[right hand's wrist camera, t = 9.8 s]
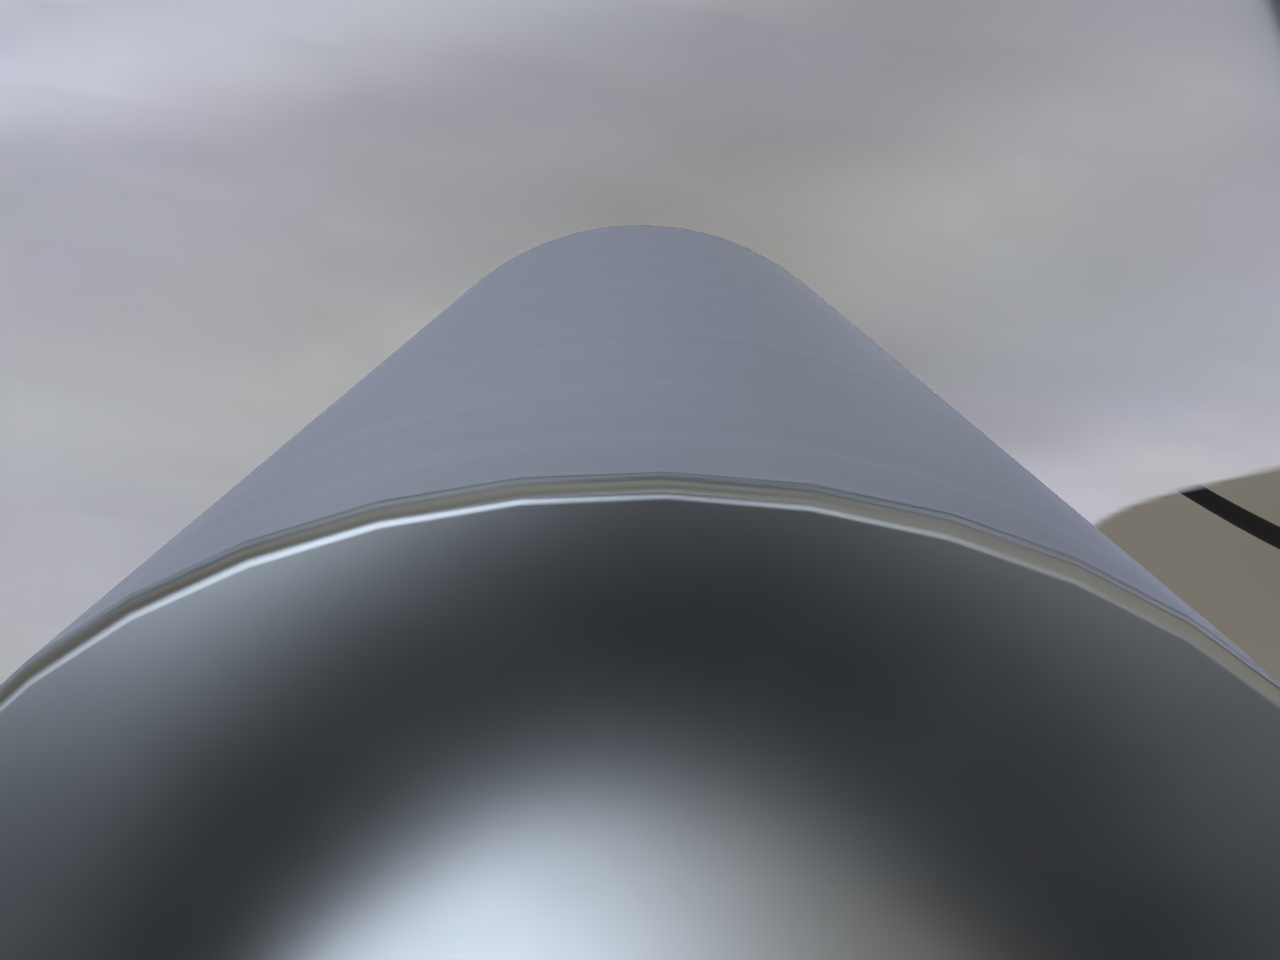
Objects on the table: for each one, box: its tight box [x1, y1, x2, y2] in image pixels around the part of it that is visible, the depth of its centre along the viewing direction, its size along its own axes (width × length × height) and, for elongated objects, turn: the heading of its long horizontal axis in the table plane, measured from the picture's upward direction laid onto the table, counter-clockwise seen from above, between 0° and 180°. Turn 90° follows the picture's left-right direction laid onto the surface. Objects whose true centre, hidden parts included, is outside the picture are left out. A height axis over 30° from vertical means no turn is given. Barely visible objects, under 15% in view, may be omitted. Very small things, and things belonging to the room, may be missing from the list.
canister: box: [0, 225, 1280, 960], centre depth 11 cm, size 9×9×12 cm
